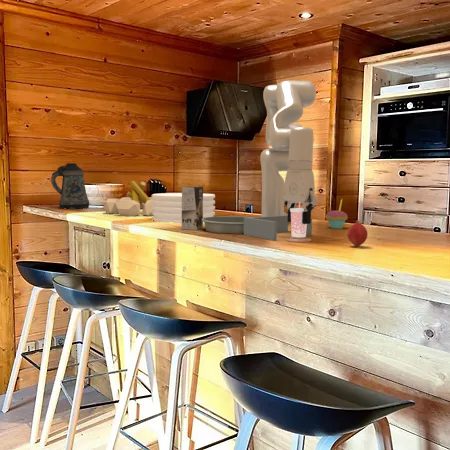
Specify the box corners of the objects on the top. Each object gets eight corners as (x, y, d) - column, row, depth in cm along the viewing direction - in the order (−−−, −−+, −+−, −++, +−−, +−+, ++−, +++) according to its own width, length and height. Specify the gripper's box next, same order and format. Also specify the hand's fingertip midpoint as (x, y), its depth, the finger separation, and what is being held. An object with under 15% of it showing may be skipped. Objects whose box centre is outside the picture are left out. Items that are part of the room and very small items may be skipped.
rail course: (285, 231, 191) (286, 215, 191) (317, 236, 178) (317, 219, 177) (243, 234, 180) (243, 217, 179) (273, 240, 167) (274, 221, 166)
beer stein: (95, 208, 293) (95, 163, 290) (69, 210, 276) (68, 163, 273) (75, 206, 301) (74, 163, 298) (48, 208, 285) (47, 163, 282)
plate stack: (140, 219, 233) (140, 193, 232) (189, 216, 252) (189, 192, 250) (177, 224, 212) (177, 196, 211) (227, 220, 231) (228, 195, 230)
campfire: (93, 213, 262) (92, 179, 261) (149, 210, 285) (148, 179, 284) (131, 218, 237) (130, 181, 235) (188, 214, 260) (188, 180, 258)
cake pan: (219, 236, 178) (219, 223, 177) (191, 228, 199) (191, 217, 199) (279, 233, 189) (280, 220, 188) (246, 226, 211) (246, 215, 210)
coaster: (299, 238, 173) (299, 236, 173) (316, 241, 166) (316, 239, 166) (281, 240, 168) (281, 238, 168) (298, 243, 161) (298, 241, 161)
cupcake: (349, 227, 206) (350, 197, 205) (344, 229, 199) (345, 198, 197) (328, 226, 210) (329, 196, 209) (322, 228, 202) (323, 197, 201)
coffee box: (197, 230, 192) (197, 186, 191) (181, 229, 194) (181, 186, 192) (203, 227, 201) (203, 186, 200) (187, 227, 203) (187, 185, 201)
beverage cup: (301, 238, 163) (303, 194, 161) (285, 236, 167) (286, 193, 165) (311, 236, 168) (313, 193, 166) (295, 234, 171) (296, 192, 170)
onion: (344, 245, 158) (345, 219, 157) (362, 245, 158) (363, 219, 157) (350, 248, 152) (351, 221, 151) (369, 248, 152) (370, 221, 152)
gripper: (273, 166, 169) (272, 221, 171) (311, 166, 155) (309, 226, 157) (290, 166, 174) (289, 219, 176) (328, 167, 160) (326, 224, 162)
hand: (298, 222), depth 167 cm, fingers closed on beverage cup, 6 cm apart
